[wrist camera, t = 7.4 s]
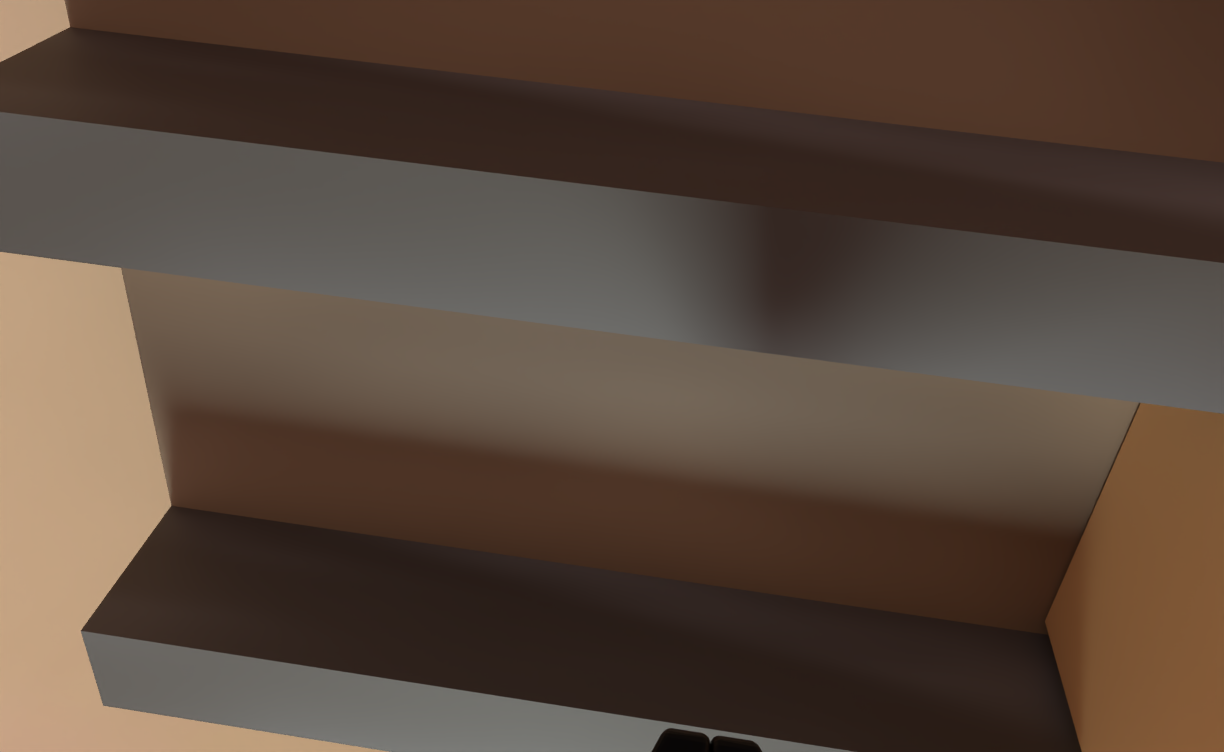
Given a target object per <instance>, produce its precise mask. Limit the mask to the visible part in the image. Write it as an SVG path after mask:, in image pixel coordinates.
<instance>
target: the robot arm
mask: <svg viewBox="0 0 1224 752" xmlns="http://www.w3.org/2000/svg"><path fill="white" fill-rule="evenodd" d="M652 752H762V750H761V748H760V747H759V745H758V744H757V743H755V742H754V741H751V740H745V739H739V738H732V737H726V736H716V737H713V739H712V740H711V742H710V740H709V737H708V736H707V735H705V734H704V733H700V732H694V731H687V730H681V729H674V728H668V729H666V730H665V731H664V732H663V733H662V734H661V735H660V737H659V739H658V741H657V742H656V744H655V746H654V748H653V750H652Z"/></svg>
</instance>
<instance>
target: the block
mask: <svg viewBox="0 0 1224 752" xmlns="http://www.w3.org/2000/svg"><path fill="white" fill-rule="evenodd" d="M1045 624H1046V627H1047V631H1048V634H1049V638H1050V641H1051V645H1052V648H1053V652H1054V656H1055V659H1056V663H1057V666H1058V670H1059V673H1060V677H1061V680H1062V684H1063V687H1064V691H1065V694H1066V698H1067V701H1068V705H1069V709H1070V712H1071V716H1072V719H1073V723H1074V726H1075V730H1076V733H1077V737H1078V740H1079V744H1080V747H1081V751H1082V752H1224V414H1222V413H1214V412H1207V411H1199V410H1191V409H1184V408H1176V407H1169V406H1161V405H1154V404H1146V403H1140V406H1139V408H1138V410H1137V413H1136V415H1135V417H1134V419H1133V422H1132V424H1131V426H1130V428H1129V431H1128V433H1127V435H1126V438H1125V440H1124V442H1123V444H1122V447H1121V449H1120V451H1119V453H1118V456H1117V458H1116V460H1115V463H1114V465H1113V467H1112V469H1111V472H1110V474H1109V476H1108V479H1107V481H1106V483H1105V485H1104V488H1103V490H1102V492H1101V494H1100V497H1099V499H1098V501H1097V504H1096V506H1095V508H1094V510H1093V513H1092V515H1091V517H1090V519H1089V522H1088V524H1087V526H1086V529H1085V531H1084V533H1083V535H1082V538H1081V540H1080V542H1079V545H1078V547H1077V549H1076V551H1075V554H1074V556H1073V558H1072V560H1071V563H1070V565H1069V567H1068V570H1067V572H1066V574H1065V576H1064V579H1063V581H1062V583H1061V585H1060V588H1059V590H1058V592H1057V595H1056V597H1055V599H1054V601H1053V604H1052V606H1051V608H1050V611H1049V613H1048V615H1047V617H1046V620H1045Z"/></svg>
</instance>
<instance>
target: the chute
mask: <svg viewBox="0 0 1224 752" xmlns="http://www.w3.org/2000/svg"><path fill="white" fill-rule="evenodd" d="M65 4H66V9H67V13H68V18H69V23H70V28H68V29H66V30H64V31H62V32H60V33H58V34H56V35H54V36H52V37H50V38H48V39H46V40H44V41H42V42H40V43H38V44H36V45H34V46H32V47H30V48H28V49H26V50H24V51H22V52H20V53H18V54H16V55H14V56H12V57H10V58H8V59H6V60H4V61H2V62H0V252H7V253H14V254H22V255H29V256H37V257H44V258H52V259H59V260H67V261H75V262H82V263H90V264H97V265H105V266H112V267H120V268H121V269H122V274H123V278H124V283H125V288H126V293H127V297H128V302H129V307H130V312H131V316H132V321H133V326H134V330H135V335H136V340H137V345H138V349H139V354H140V359H141V364H142V368H143V373H144V378H145V382H146V387H147V392H148V397H149V401H150V406H151V411H152V416H153V420H154V425H155V430H156V435H157V439H158V444H159V449H160V453H161V458H162V463H163V468H164V472H165V477H166V482H167V487H168V491H169V496H170V501H171V507H170V509H169V510H168V511H167V513H166V514H165V515H164V517H163V518H162V520H161V521H160V522H159V524H158V525H157V526H156V528H155V529H154V531H153V532H152V533H151V535H150V536H149V537H148V539H147V540H146V542H145V543H144V544H143V546H142V547H141V549H140V550H139V551H138V553H137V554H136V555H135V557H134V558H133V560H132V561H131V562H130V564H129V565H128V566H127V568H126V569H125V571H124V572H123V573H122V575H121V576H120V577H119V579H118V580H117V582H116V583H115V584H114V586H113V587H112V588H111V590H110V591H109V593H108V594H107V595H106V597H105V598H104V600H103V601H102V602H101V604H100V605H99V606H98V608H97V609H96V611H95V612H94V613H93V615H92V616H91V617H90V619H89V620H88V622H87V623H86V624H85V626H84V627H83V628H82V630H81V633H82V636H83V640H84V643H85V646H86V650H87V653H88V656H89V660H90V663H91V666H92V669H93V673H94V676H95V679H96V683H97V686H98V689H99V693H100V696H101V699H102V703H103V706H109V707H116V708H122V709H128V710H134V711H141V712H147V713H153V714H159V715H165V716H172V717H178V718H184V719H190V720H197V721H203V722H209V723H215V724H221V725H228V726H234V727H240V728H246V729H253V730H259V731H265V732H271V733H277V734H284V735H290V736H296V737H302V738H309V739H315V740H321V741H327V742H333V743H340V744H346V745H352V746H358V747H365V748H371V749H377V750H383V751H389V752H652V750H653V748H654V746H655V744H656V742H657V741H658V739H659V737H660V735H661V734H662V733H663V732H664V731H665V730H666V729H668V728H674V729H681V730H687V731H694V732H700V733H704V734H705V735H707V736H708V737H709V740H710V742H711V740H712V739H713V737H716V736H726V737H732V738H739V739H745V740H751V741H754V742H755V743H757V744H758V745H759V747H760V748H761V750H762V752H1082V751H1081V747H1080V744H1079V740H1078V737H1077V733H1076V730H1075V726H1074V723H1073V719H1072V716H1071V712H1070V709H1069V705H1068V701H1067V698H1066V694H1065V691H1064V687H1063V684H1062V680H1061V677H1060V673H1059V670H1058V666H1057V663H1056V659H1055V656H1054V652H1053V648H1052V645H1051V641H1050V638H1049V634H1048V631H1047V627H1046V624H1045V620H1046V617H1047V615H1048V613H1049V611H1050V608H1051V606H1052V604H1053V601H1054V599H1055V597H1056V595H1057V592H1058V590H1059V588H1060V585H1061V583H1062V581H1063V579H1064V576H1065V574H1066V572H1067V570H1068V567H1069V565H1070V563H1071V560H1072V558H1073V556H1074V554H1075V551H1076V549H1077V547H1078V545H1079V542H1080V540H1081V538H1082V535H1083V533H1084V531H1085V529H1086V526H1087V524H1088V522H1089V519H1090V517H1091V515H1092V513H1093V510H1094V508H1095V506H1096V504H1097V501H1098V499H1099V497H1100V494H1101V492H1102V490H1103V488H1104V485H1105V483H1106V481H1107V479H1108V476H1109V474H1110V472H1111V469H1112V467H1113V465H1114V463H1115V460H1116V458H1117V456H1118V453H1119V451H1120V449H1121V447H1122V444H1123V442H1124V440H1125V438H1126V435H1127V433H1128V431H1129V428H1130V426H1131V424H1132V422H1133V419H1134V417H1135V415H1136V413H1137V410H1138V408H1139V406H1140V403H1146V404H1154V405H1161V406H1169V407H1176V408H1184V409H1191V410H1199V411H1207V412H1214V413H1222V414H1224V0H65Z"/></svg>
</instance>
